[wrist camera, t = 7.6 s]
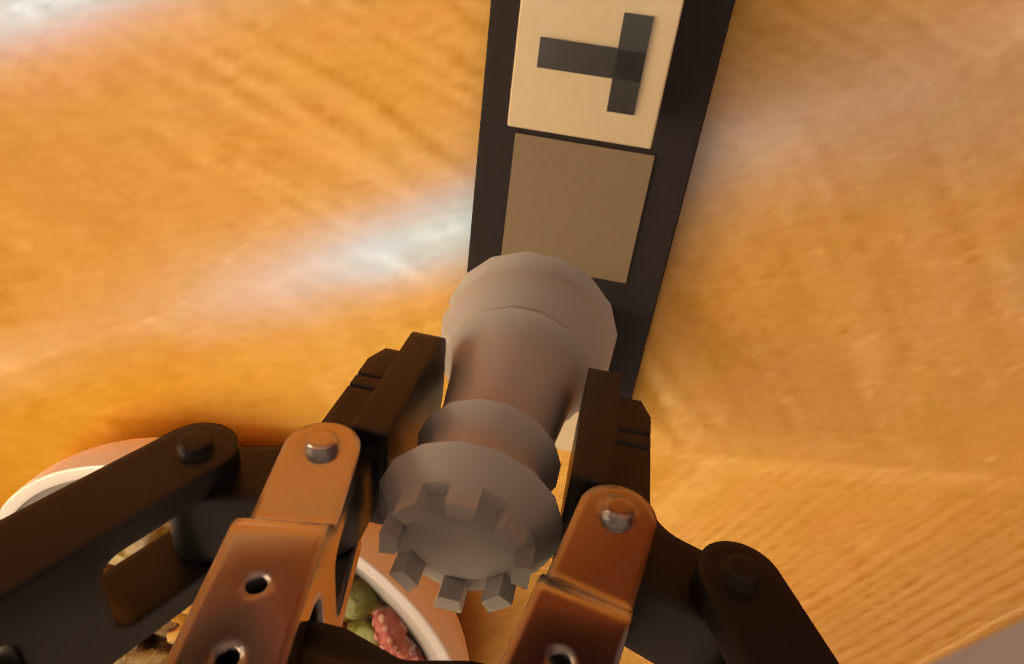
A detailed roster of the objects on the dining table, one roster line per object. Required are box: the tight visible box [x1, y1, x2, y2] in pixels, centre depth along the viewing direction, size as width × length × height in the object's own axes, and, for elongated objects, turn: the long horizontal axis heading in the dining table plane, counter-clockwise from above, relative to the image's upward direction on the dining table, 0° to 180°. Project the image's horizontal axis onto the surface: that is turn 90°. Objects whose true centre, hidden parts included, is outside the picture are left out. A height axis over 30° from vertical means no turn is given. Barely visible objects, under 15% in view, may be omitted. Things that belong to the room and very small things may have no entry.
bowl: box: [0, 437, 469, 664], centre depth 39 cm, size 30×30×8 cm
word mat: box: [467, 0, 735, 399], centre depth 25 cm, size 20×8×1 cm, turn 173°
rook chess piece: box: [378, 251, 617, 613], centre depth 14 cm, size 4×4×8 cm
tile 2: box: [507, 0, 684, 149], centre depth 20 cm, size 4×4×4 cm
